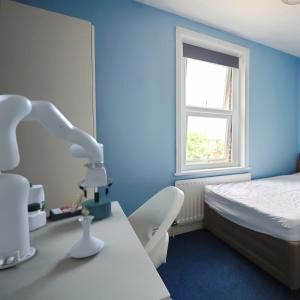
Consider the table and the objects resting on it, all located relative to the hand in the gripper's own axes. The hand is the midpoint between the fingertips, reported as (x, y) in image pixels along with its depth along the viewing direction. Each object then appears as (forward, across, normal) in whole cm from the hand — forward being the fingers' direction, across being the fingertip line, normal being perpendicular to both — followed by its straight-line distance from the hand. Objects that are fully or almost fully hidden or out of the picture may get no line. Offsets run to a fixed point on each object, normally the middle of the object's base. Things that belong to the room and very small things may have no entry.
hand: (96, 196), depth 115 cm
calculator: (+12, -14, +12) cm, 22 cm away
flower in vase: (+12, -4, -40) cm, 42 cm away
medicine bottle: (+12, -27, +1) cm, 29 cm away
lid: (+4, 0, 0) cm, 4 cm away
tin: (+12, 0, 0) cm, 12 cm away
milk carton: (+12, -29, +14) cm, 34 cm away
